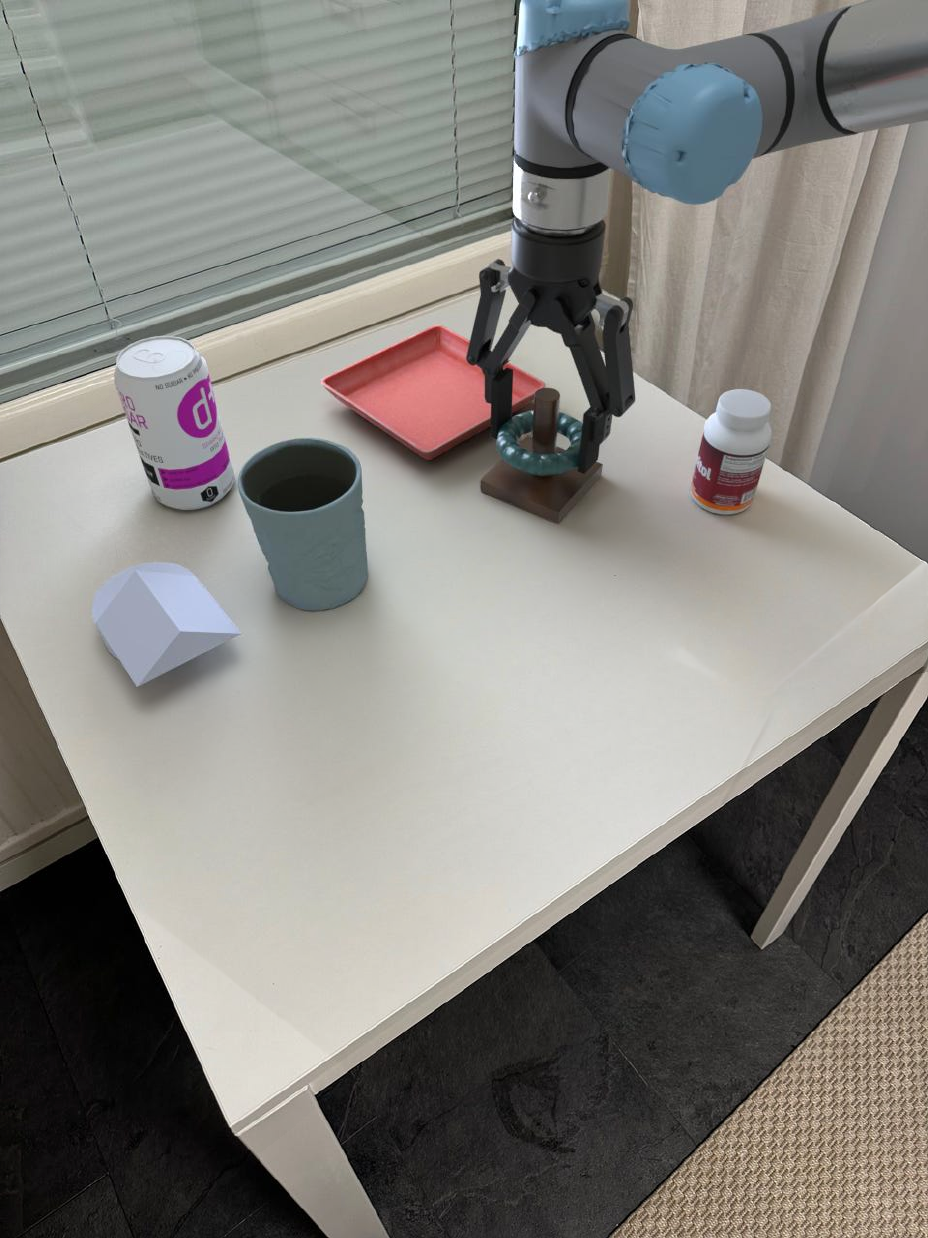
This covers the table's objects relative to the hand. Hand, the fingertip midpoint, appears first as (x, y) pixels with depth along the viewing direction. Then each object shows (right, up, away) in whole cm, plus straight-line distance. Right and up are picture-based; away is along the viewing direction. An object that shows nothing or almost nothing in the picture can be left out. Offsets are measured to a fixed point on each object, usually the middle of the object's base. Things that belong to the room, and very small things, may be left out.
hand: (543, 448), depth 87 cm
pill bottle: (+18, -5, +1) cm, 19 cm away
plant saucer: (-11, +7, +13) cm, 18 cm away
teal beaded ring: (0, +1, -1) cm, 1 cm away
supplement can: (-35, -4, +3) cm, 35 cm away
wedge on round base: (-33, -19, -11) cm, 40 cm away
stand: (0, -3, +3) cm, 4 cm away
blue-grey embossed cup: (-21, -13, -6) cm, 25 cm away
